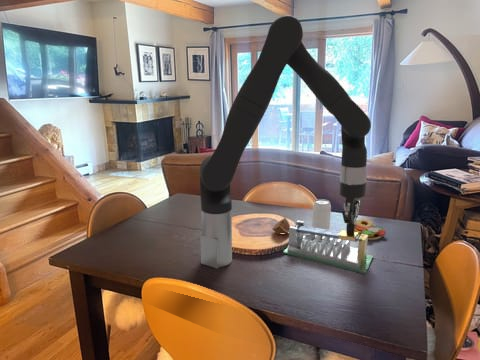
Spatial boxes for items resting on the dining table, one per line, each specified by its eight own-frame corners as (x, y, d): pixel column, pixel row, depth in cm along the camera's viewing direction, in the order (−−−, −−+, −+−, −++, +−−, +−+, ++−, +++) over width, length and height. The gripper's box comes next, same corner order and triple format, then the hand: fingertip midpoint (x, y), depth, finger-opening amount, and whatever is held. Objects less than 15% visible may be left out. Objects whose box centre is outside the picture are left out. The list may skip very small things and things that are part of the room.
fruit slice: (287, 239, 127) (287, 226, 125) (269, 236, 129) (269, 224, 128) (292, 230, 134) (293, 218, 133) (275, 228, 136) (276, 216, 135)
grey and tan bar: (291, 233, 117) (291, 227, 117) (296, 228, 121) (296, 223, 121) (356, 244, 107) (356, 237, 106) (359, 238, 111) (359, 232, 110)
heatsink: (283, 253, 116) (284, 227, 114) (296, 239, 126) (298, 216, 124) (365, 274, 104) (368, 246, 101) (373, 257, 114) (375, 231, 111)
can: (329, 236, 129) (331, 205, 126) (311, 234, 131) (313, 203, 127) (328, 229, 136) (331, 199, 132) (311, 227, 137) (313, 198, 134)
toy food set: (362, 224, 141) (362, 217, 140) (392, 236, 130) (393, 228, 129) (339, 232, 133) (340, 224, 132) (369, 245, 123) (370, 236, 122)
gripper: (345, 173, 112) (343, 224, 117) (334, 184, 102) (332, 239, 106) (370, 176, 109) (367, 228, 113) (361, 187, 98) (357, 244, 102)
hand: (350, 233), depth 110 cm, fingers closed
